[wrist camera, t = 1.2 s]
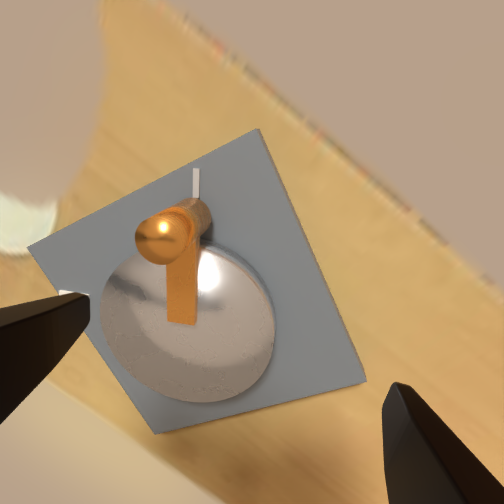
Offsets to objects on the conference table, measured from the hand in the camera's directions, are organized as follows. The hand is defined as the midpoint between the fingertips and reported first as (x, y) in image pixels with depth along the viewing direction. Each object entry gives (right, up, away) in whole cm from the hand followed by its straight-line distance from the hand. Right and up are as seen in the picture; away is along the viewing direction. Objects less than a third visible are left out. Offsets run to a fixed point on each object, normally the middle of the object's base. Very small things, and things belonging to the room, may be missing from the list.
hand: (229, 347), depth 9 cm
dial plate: (-3, -1, +16) cm, 16 cm away
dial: (-4, -1, +14) cm, 14 cm away
